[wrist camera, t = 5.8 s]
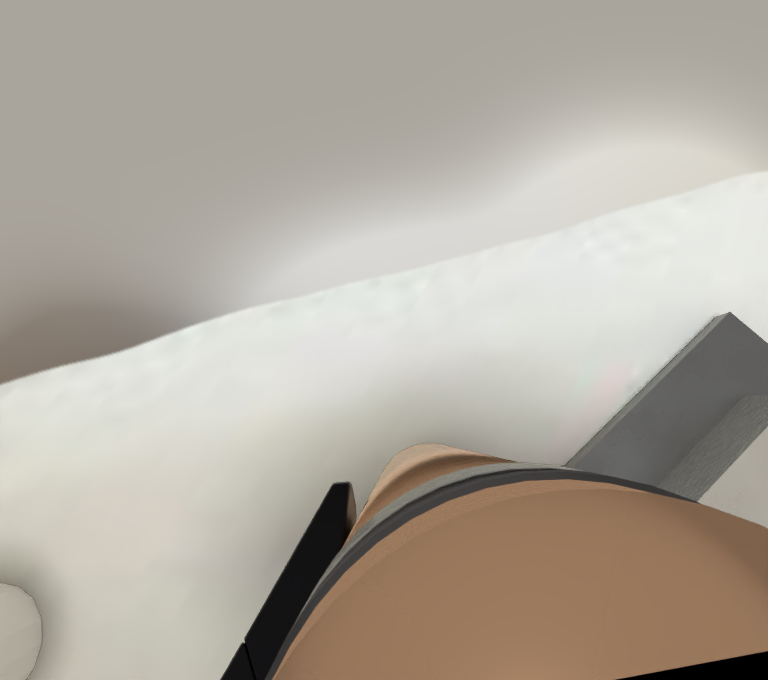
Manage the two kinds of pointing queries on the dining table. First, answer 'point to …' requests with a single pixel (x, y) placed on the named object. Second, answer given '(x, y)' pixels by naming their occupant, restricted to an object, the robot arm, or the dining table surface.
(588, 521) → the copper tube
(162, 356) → the dining table surface
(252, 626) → the robot arm
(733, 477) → the frame
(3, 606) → the shot glass
